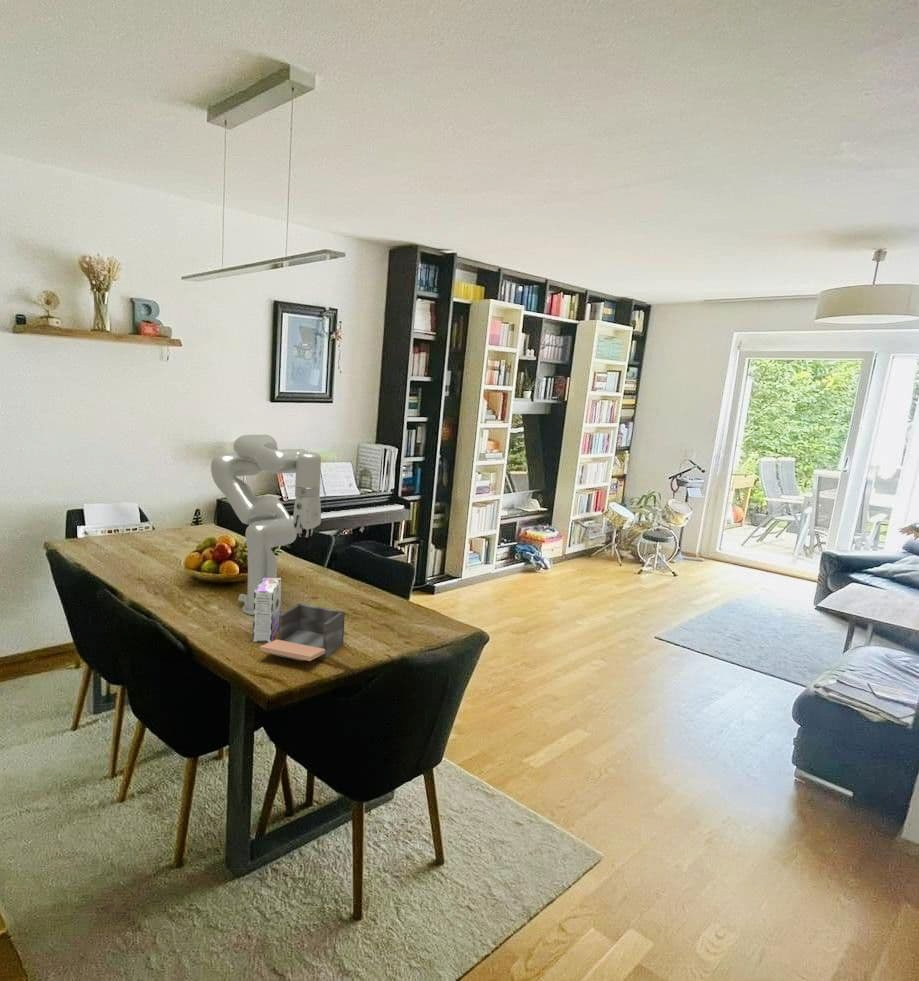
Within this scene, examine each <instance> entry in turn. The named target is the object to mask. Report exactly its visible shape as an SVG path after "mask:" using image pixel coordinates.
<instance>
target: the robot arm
mask: <svg viewBox="0 0 919 981" xmlns="http://www.w3.org/2000/svg"><path fill="white" fill-rule="evenodd" d="M278 448H279V447H278V442H277V441H276V438H274V437H273V436H272V435H269V434H245V435H244V434H243V435H241V436H239V437H237V439H235V441H234V443H233V450H234V452H225V453H221V454H219V455H216V456H214V458H212V460H211V463H210V471H211V476H212V479H213V480H212V481H214V484H215V486H217V488H218V490H220V492H221V493H222V494H223V495H224V496H225V497H226V499H227V500H228V502H229V504H230V505H231V508H232V510H233V511H234V513H235V515H236V516H237V518H238V519H239V521H240V522H241V523H242V524H244V525H248V526H247V527H246V529H245V542H246V547H247V592H246V593H247V594H246V593H245V594H244V593H240V594H239V596H238V599H237V601H238V602H242V603H244V604H243V606H242V607H241V608H242V610H241V611H242V612H243V613H244V614H246V615H251V616H254V591H255V590H256V588H257V587H258V585H259V584H260V583H261V581H262V580H263V578H278V577H277V576H278V572H277V570H278V561H277V560H278V559H277V556H276V555H275V553H274V551H273V550H272V548H275V547H280V546H285V545H290V544H292V543H294V541H296V539H297V537H298V536H299V549H301V550H307V551H308V550H310V549H312V536H313V532H314V529H316V528H317V527H318V526H320V524H321V523H322V521H321V520H322V508H321V507H322V505H321V498H320V497H321V496H320V494H321V492H320V489H321V471H322V470H321V468H322V466H321V465H322V458H321V455H320V454H319V453H317V452H312V451H311V452H310V451H308V450H305V449H301V448H299V449H298V448H297V449H296V448H295V449H294V448H293V449H292V448H291V449H290V448H289V449H286V448H285V449H284V448H283V449H278ZM262 471H265V472H267V473H270V474H277V475H278V474H279V475H281V474H282V475H283V474H294V473H295V487H294V497H295V498H294V506H293V515H292V517H293V518H292V517H291V515H290V514H289V512H288V510H287V509H286V507H285V506H284V504H283V503H282V501H281V500H280V498H277V497H276V496H273V495H261V496H260V495H255V493H254V492H253V490H252V489H251V487H250V486H249V485H248V484H247V483H246V482H245V481H243V480H242V479H239V477H246V476H249V477H250V476H255V475H259V474H260V473H262Z"/></svg>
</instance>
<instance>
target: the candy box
mask: <svg viewBox="0 0 919 981" xmlns="http://www.w3.org/2000/svg"><path fill="white" fill-rule="evenodd" d="M281 600H282V578H281V577H277V578H263V580H262V581H261V583H260V584H259V585H258V587H257V588H256V590H255V591H254V615H253V619H252V620H253V621H252V622H253V624H252V626H253V627H252V628H253V629H252V642H255V643H256V642H257V643H270V642H272V641H274V637H275V636H276V634H277V631H279V615H280V614H282V613H281V612H282V611H281V608H282V605H281V604H282V601H281Z"/></svg>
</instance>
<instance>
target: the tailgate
mask: <svg viewBox="0 0 919 981" xmlns="http://www.w3.org/2000/svg"><path fill="white" fill-rule="evenodd" d="M325 650H326V649H322V648H317V647H312V646H307V645H302V644H297V643H292V642H287V641H282V640H278V639H274V640H272V642H270V643H269V642H266V643H265V644H262V645H260V646H259V651H260V652H264V653H270V655H272V656H277V657H280V658H281V657H282V658H286V659H287V658H288V659H292V660H296V661H300V662H301V661H308V662H311V661H312V660H315V659H316V658H319V656H321V655H323V654H324V653H325Z"/></svg>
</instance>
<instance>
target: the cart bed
mask: <svg viewBox="0 0 919 981" xmlns="http://www.w3.org/2000/svg"><path fill="white" fill-rule="evenodd" d="M345 614H346V611H343V610H342V611H341V610H337V609H331V608H325V607H320V606H314V605H308V604H302V603H296V604H295V605H294V606H293V605H292V606H291V607H290V608H289V609H287V610H285V611H284V612H282V613H281V614H280V615H279V628H278V630H277V631H278V635H277V640H282V641H287V642H292V643H297V644H302V645H307V646H312V647H317V648H322V649H326V650H325V653H324V654H323V655H321V656H319V657H320V658H324V659H327V658H329V656H331V655H332V654H333V653H334V652H335V651H336V650H338V649H339V648H340V647H341V646H343V645H344V635H345ZM319 657H318V658H319Z"/></svg>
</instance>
